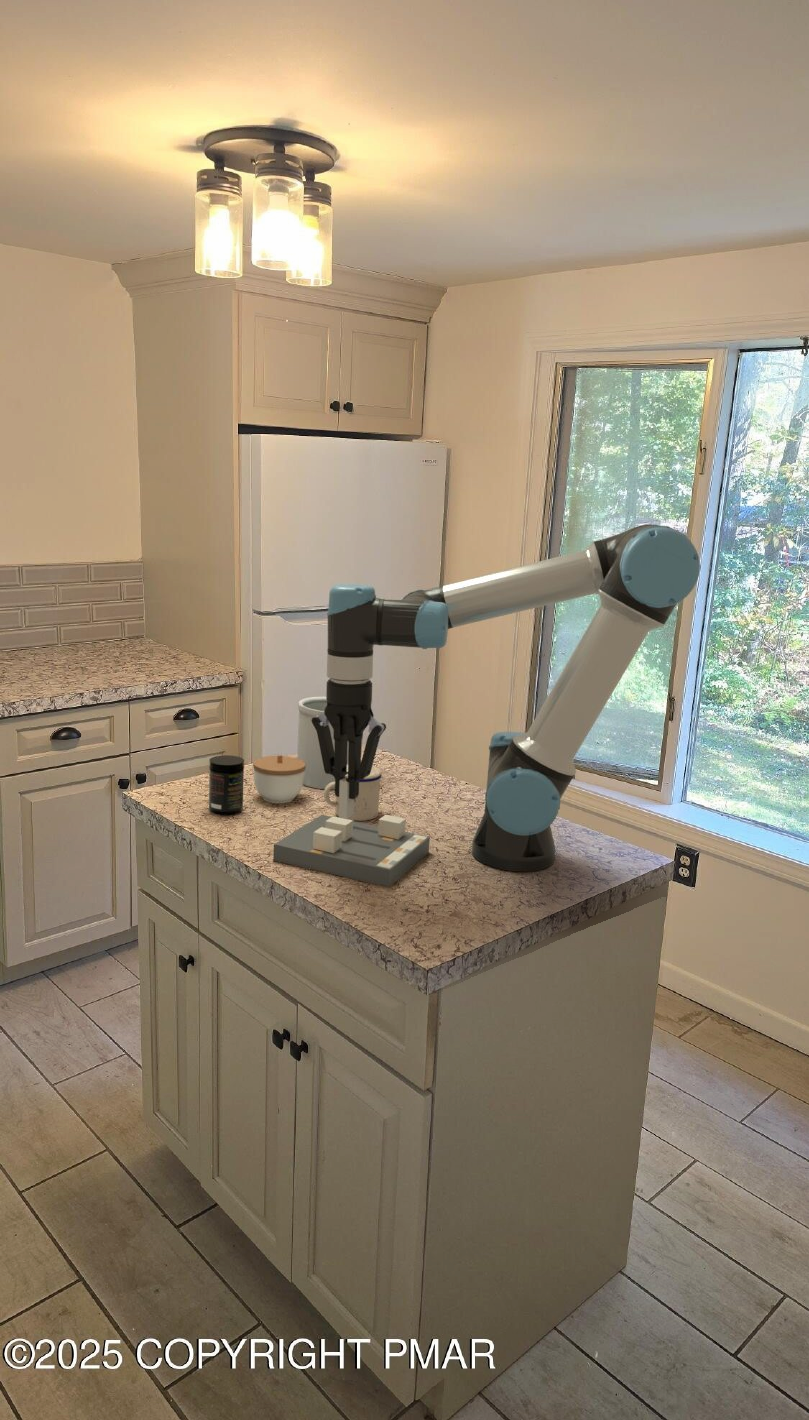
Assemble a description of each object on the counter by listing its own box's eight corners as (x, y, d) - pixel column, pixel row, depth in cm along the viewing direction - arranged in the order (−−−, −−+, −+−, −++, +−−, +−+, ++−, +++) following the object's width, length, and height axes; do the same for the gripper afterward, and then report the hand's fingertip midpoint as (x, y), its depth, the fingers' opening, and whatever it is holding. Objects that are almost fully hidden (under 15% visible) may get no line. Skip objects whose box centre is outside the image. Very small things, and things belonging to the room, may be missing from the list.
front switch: (341, 847, 169) (342, 831, 168) (333, 853, 166) (334, 836, 165) (320, 843, 170) (321, 827, 170) (312, 848, 168) (313, 832, 167)
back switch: (404, 834, 177) (405, 818, 176) (398, 839, 174) (399, 823, 174) (384, 830, 179) (385, 814, 178) (378, 835, 176) (378, 819, 175)
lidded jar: (242, 795, 202) (243, 752, 200) (286, 787, 209) (287, 745, 207) (270, 810, 195) (271, 765, 192) (314, 802, 201) (316, 758, 199)
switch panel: (428, 852, 178) (429, 836, 177) (389, 887, 161) (390, 869, 161) (321, 829, 186) (322, 814, 185) (273, 860, 169) (273, 843, 169)
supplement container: (249, 808, 195) (250, 758, 192) (232, 818, 189) (233, 767, 186) (219, 803, 197) (220, 753, 195) (201, 812, 191) (202, 761, 189)
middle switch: (352, 836, 175) (353, 820, 174) (344, 841, 172) (345, 825, 171) (332, 832, 176) (333, 816, 175) (324, 837, 173) (325, 821, 173)
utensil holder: (371, 776, 221) (375, 701, 217) (348, 795, 207) (352, 714, 203) (311, 767, 225) (314, 693, 221) (284, 784, 211) (287, 706, 207)
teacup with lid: (365, 804, 202) (368, 750, 199) (387, 818, 194) (391, 762, 192) (313, 811, 195) (315, 755, 193) (334, 826, 188) (336, 768, 185)
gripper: (395, 679, 161) (390, 815, 167) (324, 671, 166) (322, 803, 171) (376, 687, 155) (371, 828, 160) (303, 678, 159) (301, 815, 165)
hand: (346, 815), depth 166 cm, fingers closed
